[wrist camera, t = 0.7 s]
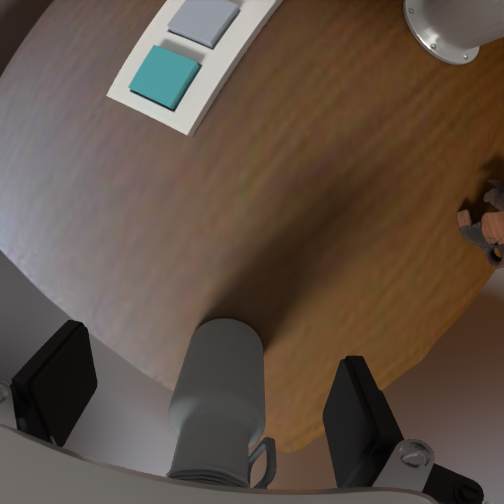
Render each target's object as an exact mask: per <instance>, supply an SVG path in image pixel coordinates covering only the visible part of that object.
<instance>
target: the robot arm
mask: <svg viewBox="0 0 504 504" xmlns="http://www.w3.org/2000/svg"><path fill="white" fill-rule="evenodd" d="M403 12H404V17H405V20H406V22H407V25H408V27H409V29H410V30H411V32H412V34H413V35H414V37H415V38H416V39H417V41H418V42H419V43H420V44H421V45H422V46H423V47H424V48H425V49H426V50H427V51H428V52H429V53H431V54H432V55H433V56H435V57H436V58H438V59H440V60H442V61H444V62H447V63H450V64H455V65H460V64H465V63H468V62H470V61H472V60H473V59H474V58H475V57H476V56H477V54H478V51H479V46H480V45H483V44H486V43H488V42H491V41H494V40H496V39H499V38H502V37H504V0H404V2H403ZM96 388H97V378H96V373H95V368H94V364H93V357H92V352H91V346H90V340H89V333H88V329H87V328H86V327H85V326H84V324H83V323H82V322H78V321H74V320H68V321H67V322H66V323H65V324H64V325H63V326H62V327H61V328H60V329H59V330H58V331H57V332H56V333H55V334H54V335H53V336H52V337H51V338H50V339H49V340H48V341H47V342H46V343H45V344H44V345H43V346H42V347H41V348H40V349H39V350H38V351H37V353H35V355H34V356H33V357H32V358H31V359H30V360H29V361H28V362H27V363H26V364H25V365H24V366H23V367H22V369H21V370H20V371H19V372H18V373H17V374H16V375H15V376H14V377H13V378H12V384H11V385H10V386H9V385H8V384H7V383H5V382H2V381H0V504H495V503H494V502H492V501H491V500H490V499H489V500H488V501H487V502H486V501H485V500H483V498H484V494H483V490H482V488H481V486H480V485H479V484H478V483H477V482H475V481H474V480H471V479H469V478H467V477H464V476H462V475H460V474H457V473H455V472H453V471H451V470H448V469H446V468H444V467H442V466H439V465H437V464H435V463H434V460H435V456H434V452H433V450H432V448H431V447H430V446H429V445H428V444H426V443H425V442H423V441H421V440H417V439H406V440H404V438H403V436H402V433H401V431H400V429H399V427H398V425H397V422H396V420H395V418H394V416H393V414H392V411H391V409H390V407H389V405H388V403H387V401H386V398H385V396H384V394H383V393H382V391H381V390H379V389H378V387H377V385H376V383H375V381H374V379H373V377H372V374H371V372H370V370H369V368H368V366H367V364H366V362H365V360H364V358H363V356H346V358H345V359H342V360H341V361H340V363H339V366H338V369H337V372H336V376H335V379H334V382H333V385H332V388H331V391H330V393H329V396H328V399H327V402H326V405H325V408H324V411H323V423H324V427H325V432H326V436H327V440H328V445H329V450H330V454H331V459H332V463H333V469H334V473H335V478H336V482H337V487H338V488H332V489H257V488H242V487H230V486H220V485H212V484H204V483H197V482H190V481H184V480H178V479H173V478H167V477H162V476H157V475H152V474H148V473H144V472H139V471H135V470H131V469H127V468H124V467H120V466H116V465H113V464H109V463H106V462H102V461H99V460H96V459H93V458H90V457H87V456H84V455H81V454H78V453H75V452H72V451H70V450H67V449H64V448H62V447H63V446H64V444H65V442H66V440H67V438H68V437H69V435H70V433H71V431H72V429H73V428H74V426H75V424H76V422H77V421H78V419H79V417H80V416H81V414H82V412H83V411H84V409H85V407H86V406H87V404H88V402H89V400H90V399H91V397H92V395H93V394H94V392H95V390H96Z"/></svg>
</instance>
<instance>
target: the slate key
mask: <svg viewBox="0 0 504 504" xmlns="http://www.w3.org/2000/svg"><path fill="white" fill-rule="evenodd" d="M238 15H239V12H238V5H236V4H234V3H231V2H229V1H226V0H185V2H184V3H183V4H182V6H181V7H180V8H179V10H178V11H177V12H176V14H175V15H174V16H173V18H172V19H171V21H170V22H169V23H168V25H167V26H168V27H169V29H170V30H171V31H172V33H174V34H176V35H179V36H181V37H184V38H186V39H189V40H191V41H194V42H196V43H198V44H201V45H203V46H205V47H208V48H210V49H212V50H214V48H215V47H216V45H217V44H218V42H219V41H220V40H221V38H222V37H223V35H224V34H225V32H226V31H227V30H228V28H229V27H230V26H231V24H232V23H233V21H234V20H235V19H236V17H237V16H238Z"/></svg>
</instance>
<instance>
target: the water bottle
mask: <svg viewBox="0 0 504 504" xmlns="http://www.w3.org/2000/svg"><path fill="white" fill-rule="evenodd" d="M168 418H169V423H170V426H171V428H172V430H173V432H174V433H175V435H176V436H177V437H178V441H177V445H176V449H175V453H174V458H173V462H172V466H171V470H170V471H169V472H168V473H167V474H166V477H167V478H173V479H178V480H184V481H190V482H197V483H204V484H212V485H220V486H230V487H242V488H250V473H251V468H252V466H253V464H254V462H255V460H256V459H257V458H258V457H259V456H260V455H261V454H262V452H263V451H264V450H265V449H266V451H267V468H266V472H265V475H264V477H263V478H262V480H261V481H260V482H259V483H258V484H257V485H256V486H255V487H253V488H257V489H267V486H268V485H269V484H270V483H271V482H272V480H273V479H274V477H275V474H276V468H277V466H276V448H275V440H274V439H273V438H269V437H265V438H264V439H263V440H262V441H261V443H260V444H259V445H258V446H257V448H256V449H255V450H254V451H253V453H252V454H251V455H250V456H249V457H248V449H249V447H251V446H252V445H254V444H255V443H256V442H257V441H258V440H259V439H260V437H261V436H262V434H263V432H264V428H265V421H266V420H265V389H264V360H263V345H262V342H261V339H260V338H259V336H258V334H257V333H256V332H255V331H254V330H253V329H252V328H251V327H250V326H248V325H247V324H245V323H243V322H241V321H238V320H234V319H228V318H221V319H214V320H211V321H208V322H206V323H204V324H203V325H201V326H200V327H199V328H198V329H197V330H196V331H195V332H194V334H193V336H192V338H191V341H190V344H189V347H188V350H187V353H186V356H185V359H184V362H183V365H182V368H181V371H180V374H179V377H178V380H177V383H176V387H175V390H174V393H173V396H172V399H171V403H170V406H169V411H168Z"/></svg>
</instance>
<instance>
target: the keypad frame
mask: <svg viewBox="0 0 504 504" xmlns="http://www.w3.org/2000/svg"><path fill="white" fill-rule="evenodd" d="M226 1H229V2H231V3H234V4H236V5H238V12H239V15H238V16H237V17H236V19H235V20H234V21H233V23H232V24H231V26H230V27H229V28H228V30H227V31H226V32H225V34H224V35H223V37H222V38H221V40H220V41H219V42H218V44H217V45H216V47H215V48H214V50H212V49H210V48H208V47H205V46H203V45H201V44H198V43H196V42H194V41H191V40H189V39H186V38H184V37H181V36H179V35H176V34H174V33H172V31H171V30H170V29H169V27H168V26H167V25H168V23H169V22H170V21H171V19H172V18H173V16H174V15H175V14H176V12H177V11H178V10H179V8H180V7H181V6H182V4H183V3H184V2H185V0H167V1H166V3H165V4H164V5H163V7H162V8H161V9H160V11H159V12H158V13H157V15H156V16H155V18H154V19H153V20H152V22H151V23H150V25H149V26H148V28H147V29H146V30H145V32H144V33H143V35H142V36H141V38H140V39H139V41H138V43H137V44H136V46H135V47H134V49H133V50H132V52H131V54H130V55H129V57H128V58H127V60H126V62H125V63H124V65H123V67H122V68H121V70H120V72H119V74H118V75H117V77H116V79H115V81H114V82H113V84H112V86H111V88H110V90H109V92H108V93H107V95H106V96H108V97H110V98H112V99H114V100H117V101H119V102H121V103H123V104H125V105H127V106H129V107H131V108H134V109H136V110H138V111H140V112H142V113H144V114H146V115H148V116H150V117H152V118H154V119H156V120H158V121H160V122H162V123H164V124H166V125H168V126H170V127H172V128H174V129H176V130H178V131H180V132H182V133H184V134H186V135H188V136H191V137H193V136H194V134H195V132H196V130H197V129H198V127H199V125H200V123H201V122H202V120H203V118H204V117H205V115H206V113H207V112H208V110H209V108H210V107H211V105H212V103H213V102H214V100H215V98H216V97H217V95H218V94H219V92H220V90H221V89H222V87H223V86H224V84H225V82H226V81H227V79H228V78H229V76H230V75H231V73H232V72H233V70H234V69H235V67H236V65H237V64H238V62H239V61H240V59H241V58H242V57H243V55H244V54H245V52H246V51H247V49H248V48H249V46H250V45H251V43H252V42H253V41H254V39H255V38H256V36H257V35H258V33H259V32H260V31H261V29H262V28H263V27H264V25H265V24H266V22H267V21H268V20H269V18H270V17H271V16H272V14H273V13H274V12H275V10H276V9H277V8H278V6H279V5H280V4H281V3H282V1H283V0H226ZM153 45H156V46H159V47H161V48H164V49H166V50H169V51H171V52H174V53H176V54H179V55H181V56H183V57H186V58H188V59H190V60H192V61H195V62H197V63H198V65H199V67H200V68H201V69H200V71H199V72H198V74H197V76H196V77H195V79H194V80H193V82H192V84H191V85H190V87H189V88H188V90H187V92H186V93H185V95H184V97H183V98H182V100H181V102H180V103H179V105H178V107H177V109H176V110H174V109H172V108H170V107H168V106H165V105H163V104H161V103H159V102H157V101H155V100H153V99H151V98H149V97H146V96H144V95H142V94H140V93H138V92H136V91H134V90H132V89H130V88H128V86H129V85H130V83H131V81H132V79H133V78H134V76H135V74H136V73H137V71H138V69H139V68H140V66H141V64H142V63H143V61H144V59H145V58H146V56H147V55H148V53H149V51H150V50H151V48H152V47H153Z"/></svg>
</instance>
